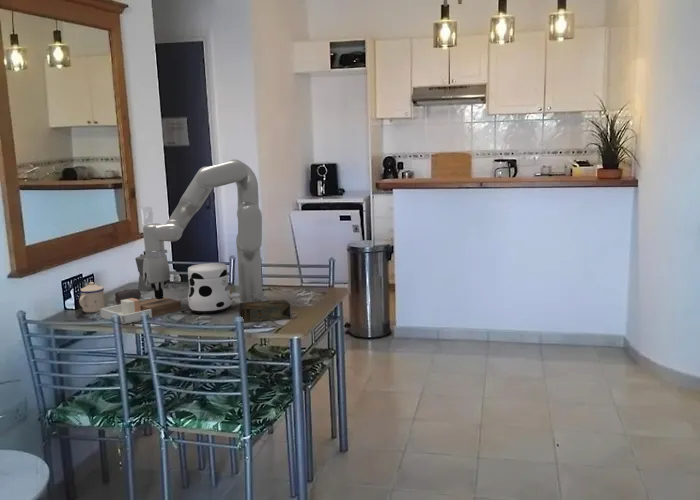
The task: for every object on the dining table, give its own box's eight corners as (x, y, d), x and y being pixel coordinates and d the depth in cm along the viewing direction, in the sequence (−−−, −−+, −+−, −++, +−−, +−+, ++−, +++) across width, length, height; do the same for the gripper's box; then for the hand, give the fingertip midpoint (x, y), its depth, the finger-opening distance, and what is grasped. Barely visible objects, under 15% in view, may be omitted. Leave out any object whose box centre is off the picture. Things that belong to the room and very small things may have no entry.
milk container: (240, 308, 267) (238, 264, 265) (209, 318, 253) (206, 272, 250) (210, 303, 277) (207, 261, 274) (179, 312, 263) (175, 268, 260)
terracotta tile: (139, 300, 257) (134, 301, 256) (141, 314, 258) (135, 316, 256) (132, 297, 261) (126, 299, 260) (133, 312, 262) (127, 313, 261)
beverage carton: (291, 319, 249) (290, 302, 248) (240, 323, 245) (239, 306, 244) (288, 313, 257) (287, 297, 256) (238, 318, 252) (238, 301, 251)
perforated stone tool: (136, 300, 286) (135, 284, 285) (146, 301, 284) (144, 285, 283) (111, 308, 272) (110, 292, 271) (121, 309, 270) (120, 293, 269)
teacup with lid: (92, 306, 276) (89, 279, 274) (110, 307, 273) (107, 280, 272) (72, 314, 265) (69, 285, 263) (90, 315, 262) (87, 286, 260)
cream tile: (134, 301, 255) (128, 302, 254) (135, 316, 256) (129, 317, 255) (126, 299, 260) (120, 300, 258) (127, 313, 261) (121, 315, 259)
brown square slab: (181, 309, 267) (180, 301, 266) (150, 317, 257) (149, 308, 256) (162, 304, 276) (162, 296, 276) (132, 311, 266) (131, 303, 266)
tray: (152, 318, 255) (151, 309, 255) (123, 325, 247) (122, 315, 246) (128, 311, 267) (128, 302, 267) (100, 317, 259) (99, 308, 258)
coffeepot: (162, 289, 305) (159, 251, 302) (141, 292, 300) (138, 254, 297) (153, 284, 318) (150, 247, 315) (133, 286, 313) (130, 249, 310)
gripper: (166, 250, 272) (170, 293, 275) (133, 256, 261) (137, 301, 264) (176, 252, 266) (180, 296, 270) (143, 258, 256) (147, 303, 259)
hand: (159, 298), depth 267 cm, fingers closed
